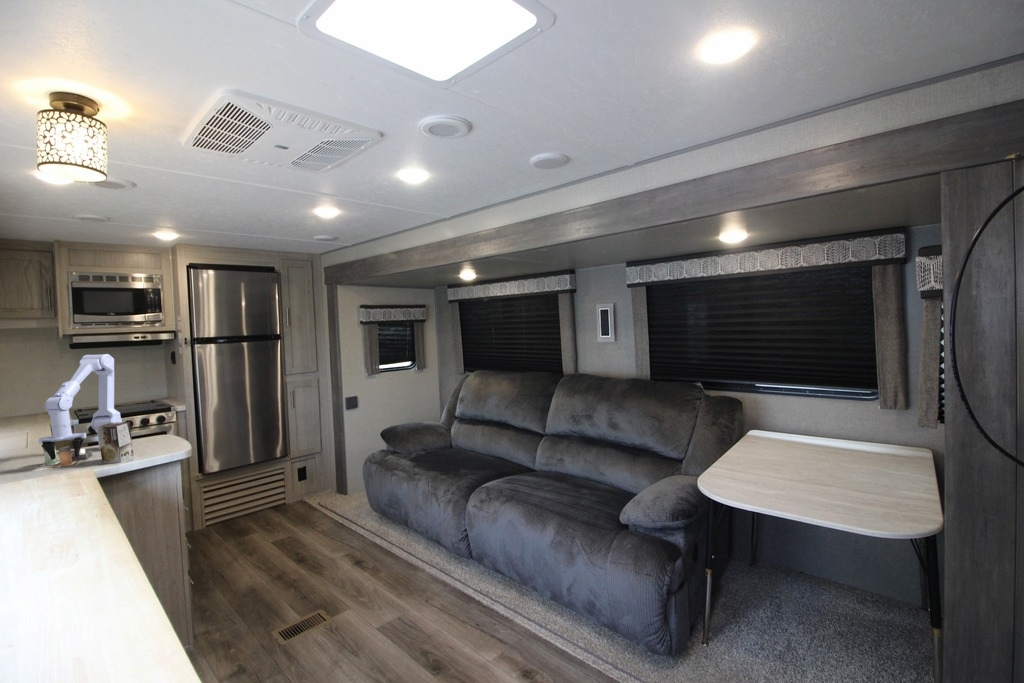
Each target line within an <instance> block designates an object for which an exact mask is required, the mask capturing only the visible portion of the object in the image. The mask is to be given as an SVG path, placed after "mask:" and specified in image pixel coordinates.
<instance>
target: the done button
mask: <svg viewBox="0 0 1024 683" xmlns="http://www.w3.org/2000/svg"><path fill="white" fill-rule="evenodd" d="M85 451H86V448H80V453H79V455H82V454H85Z"/></svg>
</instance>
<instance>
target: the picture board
mask: <svg viewBox="0 0 1024 683" xmlns="http://www.w3.org/2000/svg"><path fill="white" fill-rule="evenodd" d="M71 456H72V464H70V465H65V466H61V465H60V459H59V460H58V459H57V463H55V464H51V465H45V462H42V463H41V464H39V465H38V466H37V467H36V468H33V470H31V472H37V471H42V470H43V471H44V470H49V469H56V468H57V469H58V468H65V467H74V466H78V465H80V464H82V463H83V462H85V461H87V460H88V459H90V458H92V457H93V450H85V454H82V455H79V456H77V457H75V453H74V452H73V453H71Z"/></svg>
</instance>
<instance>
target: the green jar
mask: <svg viewBox="0 0 1024 683" xmlns="http://www.w3.org/2000/svg"><path fill="white" fill-rule="evenodd" d="M42 449H43V450H42V451H43V456H44V457H43V458H44V463H45V465H51V464H55V463H57V461H58V457H57V450H56V449H57V448H56V446H55V454H56V458H55V459H54V460H51V458H50V456H49V454H48V453H47V451H46V450H45V449H44V448H43V447H42Z"/></svg>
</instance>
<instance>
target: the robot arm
mask: <svg viewBox="0 0 1024 683" xmlns="http://www.w3.org/2000/svg"><path fill="white" fill-rule="evenodd" d="M92 372H93V373H95V374H96V375H98V410H97V411H95V412H94V413H93V415H92V420H91V424H90V426H91V428H92V429H93V430H94V431H95V432H96V433H97V434H98V429H97V427H99V426H102V425H105V424H108V423H119V422H123V420H122V417H121V412H120V411H118V410H117V409H115V358H114V357H113V356H111V355H110V354H109V353H105V354H104V353H103V354H85V355H83V356H82V358H81V359H80V360H79V366H78V368H77V369H76V371H75V372H74V374H73V375H72V377H71V378H70V380H69V381H65V382H63V383H62V384H61V386H60V387H59V388H58V390H57V391H56V392H55V393H54V395H53V396H51V397H49V398H48V399H46V401H45V404H44V405H43V407H44V410H46V411H47V414H48V416H49V417H50V418H49V419H50V425H51V432H52V436H46V437H39V438H38V444H39V445H40V444H41V447H42V449H43V448H44V449H45V450H46V451H47V453H48V454H49V456H50V458H51V460H54V459H55V458H56V456H57V453H56V454H55V447H56V442H60V441H69V440H71V443H72V447H73V450H74V451H73V453H75V457H77V456H79V453H80V449H82V444H83V442H84V441H85V439H86V438H87V432H80V433H79V432H77V433H73V431H72V424H71V416H70V408H72V406H73V401H74V397H75V396H76V395H77V393H78V392H79V391H80V390H81V383H82V382H83V381H84V380H85V379H87V377H88V376H89V375H90V374H91V373H92ZM97 441H98V448H99V450H100V443H99V436H98V435H97Z"/></svg>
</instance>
